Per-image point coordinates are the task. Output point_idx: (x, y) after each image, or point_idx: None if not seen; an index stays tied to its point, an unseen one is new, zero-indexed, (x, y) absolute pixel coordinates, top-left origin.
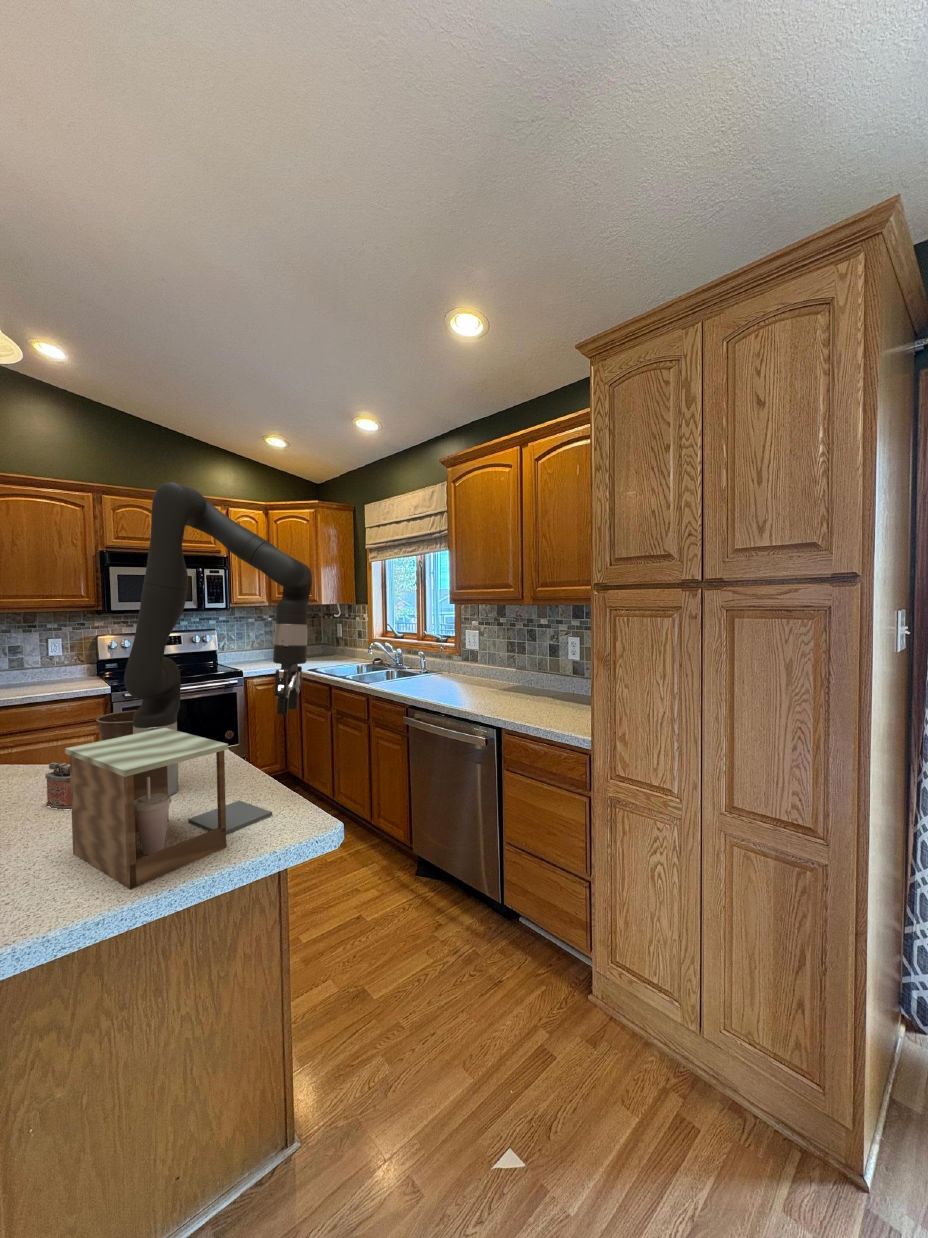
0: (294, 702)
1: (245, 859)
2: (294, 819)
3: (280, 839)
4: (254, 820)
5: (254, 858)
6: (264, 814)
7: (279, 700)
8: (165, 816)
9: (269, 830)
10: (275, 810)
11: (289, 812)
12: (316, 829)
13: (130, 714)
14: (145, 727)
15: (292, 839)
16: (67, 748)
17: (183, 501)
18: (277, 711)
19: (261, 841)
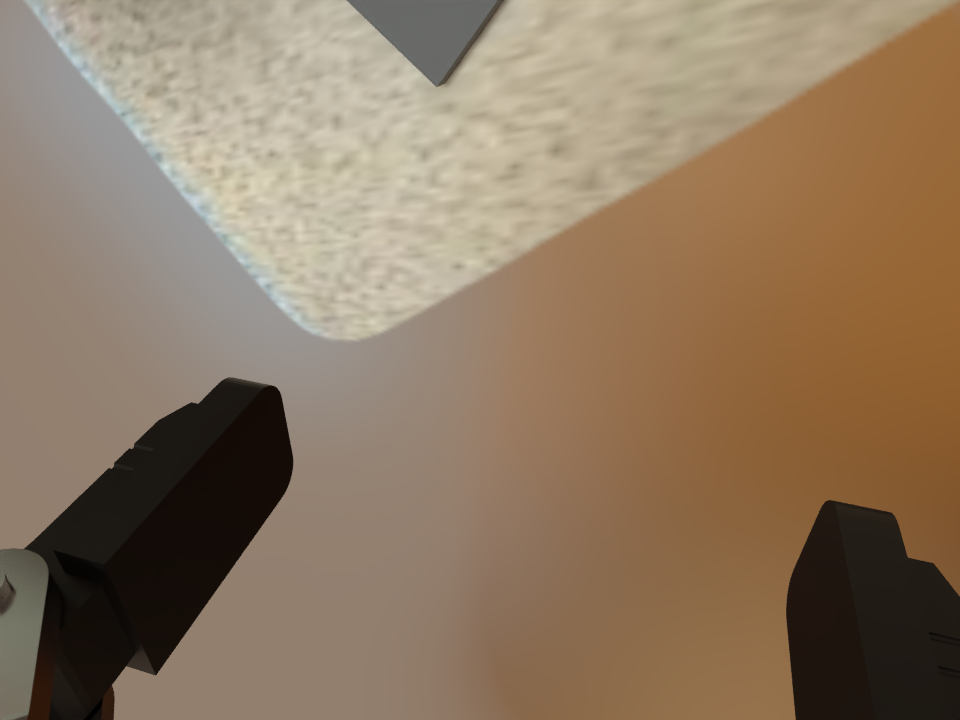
0: (805, 673)
1: (95, 62)
2: (400, 198)
3: (234, 164)
4: (358, 8)
5: (107, 95)
6: (408, 50)
7: (43, 543)
8: None
9: (299, 103)
10: (510, 86)
11: (477, 165)
12: (315, 287)
13: None
14: None
15: (239, 209)
16: None
17: None
18: (210, 393)
19: (212, 90)
